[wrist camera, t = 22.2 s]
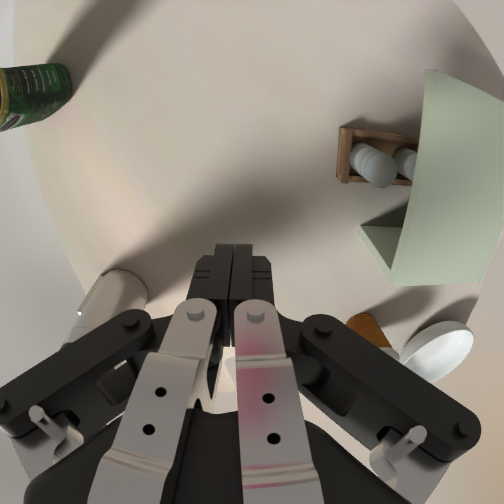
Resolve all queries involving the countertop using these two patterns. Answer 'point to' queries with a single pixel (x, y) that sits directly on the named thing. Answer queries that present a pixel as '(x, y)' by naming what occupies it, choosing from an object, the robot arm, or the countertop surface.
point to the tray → (374, 142)
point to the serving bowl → (437, 349)
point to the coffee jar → (32, 93)
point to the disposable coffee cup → (371, 332)
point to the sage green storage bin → (449, 191)
